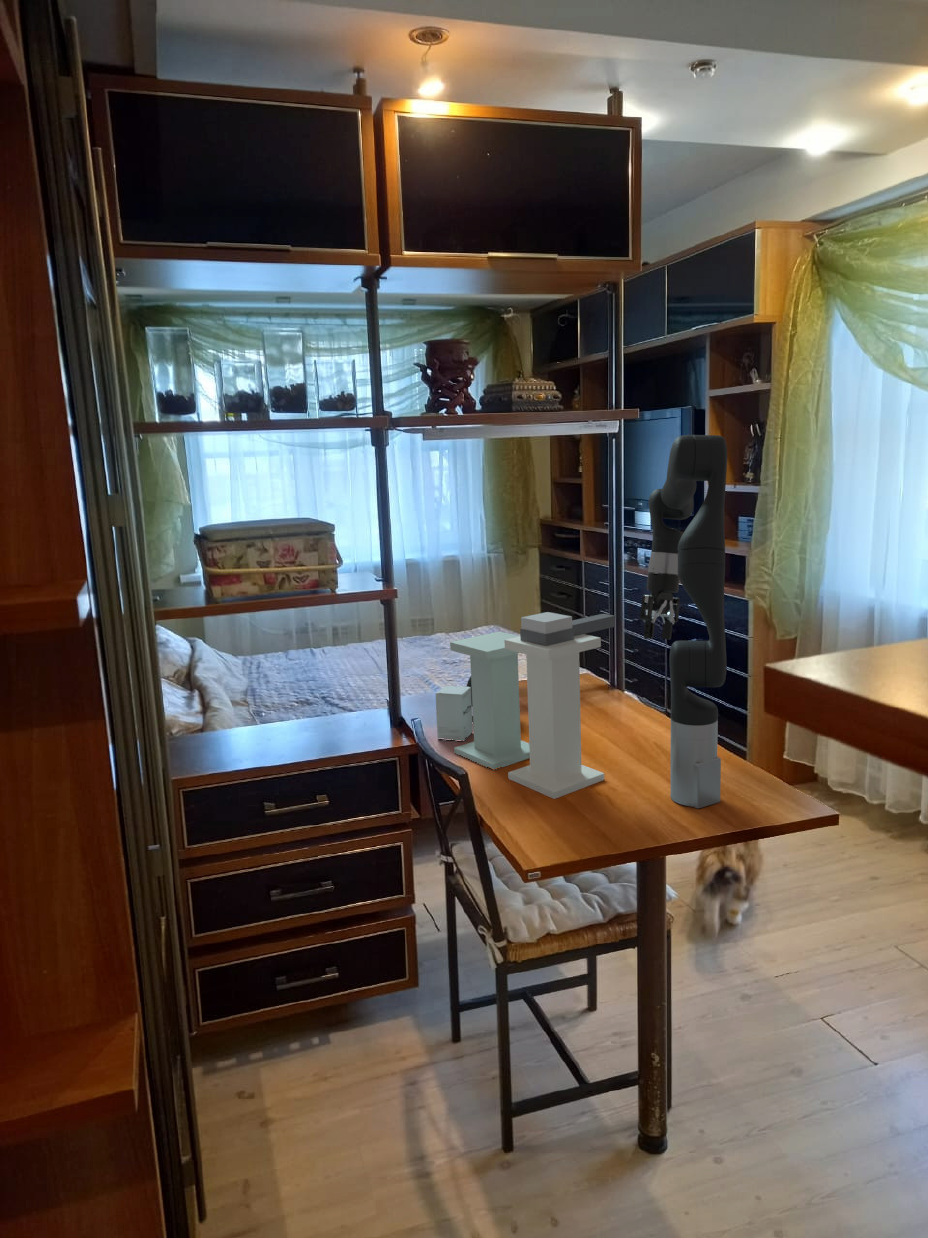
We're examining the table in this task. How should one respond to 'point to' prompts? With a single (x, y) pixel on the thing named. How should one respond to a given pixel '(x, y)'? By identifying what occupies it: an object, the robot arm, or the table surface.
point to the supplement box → (454, 712)
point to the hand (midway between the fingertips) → (657, 638)
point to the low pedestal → (493, 701)
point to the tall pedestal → (554, 717)
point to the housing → (560, 627)
